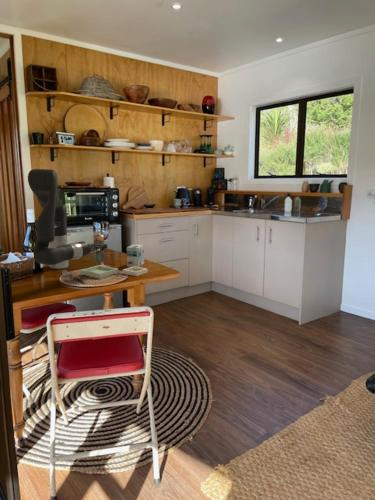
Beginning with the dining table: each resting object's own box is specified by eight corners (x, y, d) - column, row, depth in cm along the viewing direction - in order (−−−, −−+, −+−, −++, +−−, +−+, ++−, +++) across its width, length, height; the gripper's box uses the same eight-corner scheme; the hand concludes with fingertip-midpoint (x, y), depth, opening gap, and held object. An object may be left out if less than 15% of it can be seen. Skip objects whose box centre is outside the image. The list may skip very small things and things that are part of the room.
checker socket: (122, 273, 189) (122, 269, 189) (134, 270, 197) (133, 266, 196) (136, 276, 185) (136, 272, 184) (147, 272, 192) (147, 268, 192)
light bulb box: (138, 267, 202) (138, 247, 200) (126, 266, 203) (126, 247, 201) (144, 263, 212) (144, 244, 210) (133, 262, 214) (133, 243, 212)
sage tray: (80, 275, 185) (80, 270, 184) (99, 269, 196) (99, 265, 195) (99, 279, 178) (99, 273, 178) (118, 273, 189) (118, 268, 189)
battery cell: (91, 261, 185) (91, 233, 182) (98, 259, 189) (98, 232, 186) (99, 262, 182) (98, 234, 180) (106, 261, 186) (105, 233, 184)
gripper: (87, 244, 168) (113, 239, 182) (65, 241, 175) (91, 236, 189) (87, 260, 169) (113, 254, 184) (65, 256, 176) (92, 251, 191)
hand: (102, 245), depth 186 cm, fingers closed on battery cell, 4 cm apart
